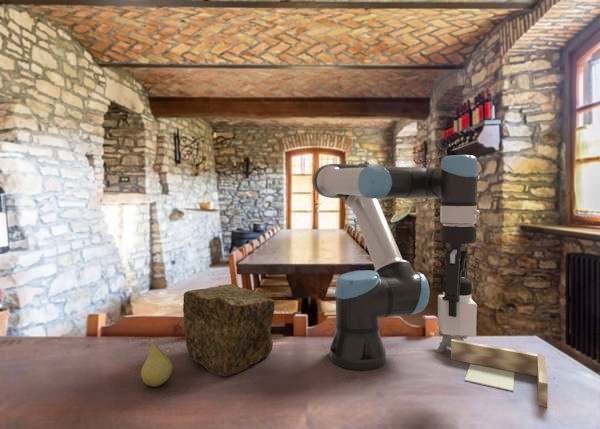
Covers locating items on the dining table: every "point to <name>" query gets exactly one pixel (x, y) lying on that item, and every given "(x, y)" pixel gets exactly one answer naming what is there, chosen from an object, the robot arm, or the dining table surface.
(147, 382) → the fruit
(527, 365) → the corner arena
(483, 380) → the pad
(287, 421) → the dining table surface
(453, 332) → the medicine bottle
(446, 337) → the elephant statuette
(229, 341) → the decorative stone
